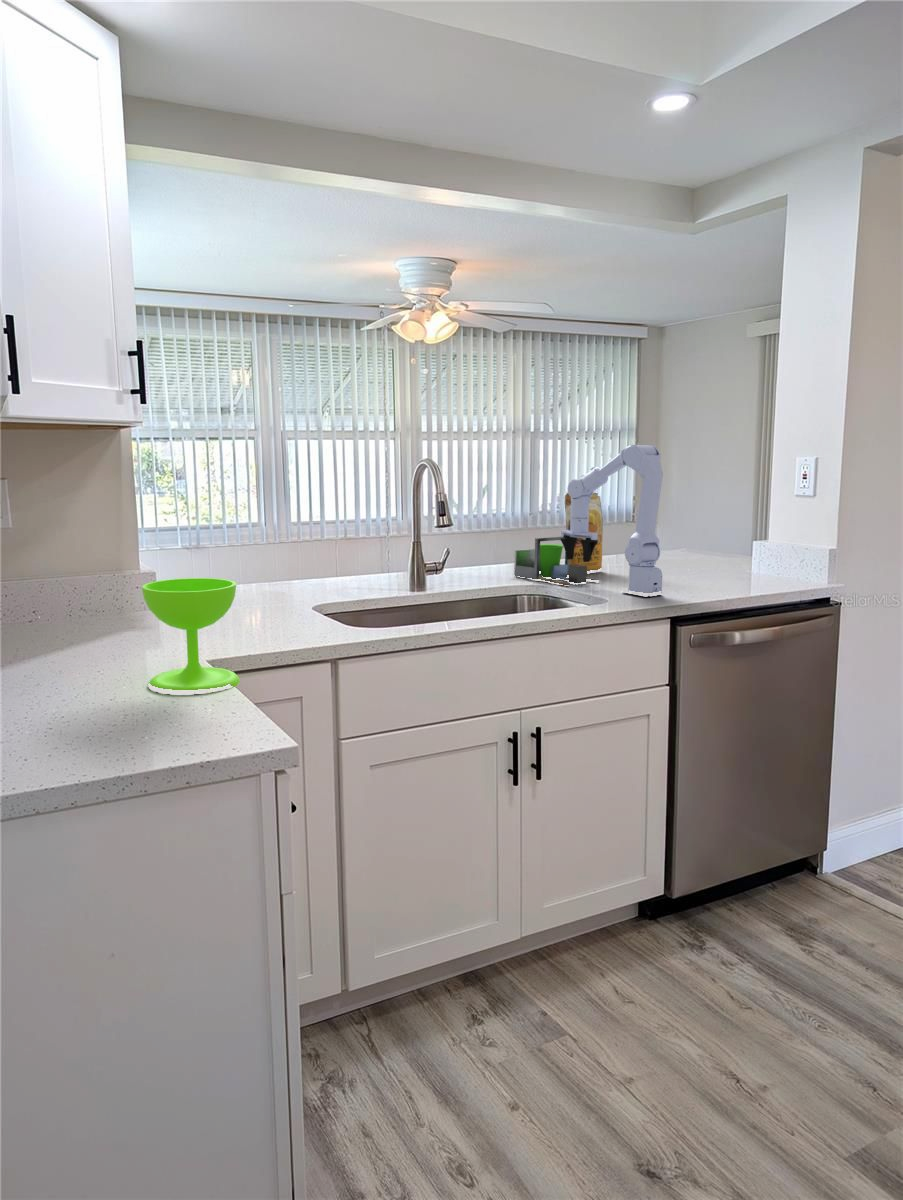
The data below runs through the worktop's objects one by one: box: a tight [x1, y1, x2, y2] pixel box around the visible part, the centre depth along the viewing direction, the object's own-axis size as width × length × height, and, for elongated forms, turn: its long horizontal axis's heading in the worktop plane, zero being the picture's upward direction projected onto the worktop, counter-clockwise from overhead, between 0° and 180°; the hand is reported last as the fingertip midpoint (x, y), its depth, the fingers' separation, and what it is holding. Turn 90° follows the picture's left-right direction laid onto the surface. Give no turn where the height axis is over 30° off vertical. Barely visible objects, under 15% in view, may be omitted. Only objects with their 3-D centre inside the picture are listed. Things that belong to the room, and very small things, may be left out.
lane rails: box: [537, 574, 599, 586], centre depth 273 cm, size 15×14×1 cm
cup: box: [540, 543, 564, 577], centre depth 280 cm, size 9×9×11 cm
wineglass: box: [141, 577, 241, 690], centre depth 150 cm, size 16×16×18 cm
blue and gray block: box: [551, 563, 588, 583], centre depth 272 cm, size 11×6×6 cm, turn 35°
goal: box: [513, 536, 570, 579], centre depth 282 cm, size 11×15×14 cm
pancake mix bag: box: [564, 492, 604, 571], centre depth 292 cm, size 7×19×28 cm, turn 124°
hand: (578, 560), depth 268 cm, fingers open, 7 cm apart
